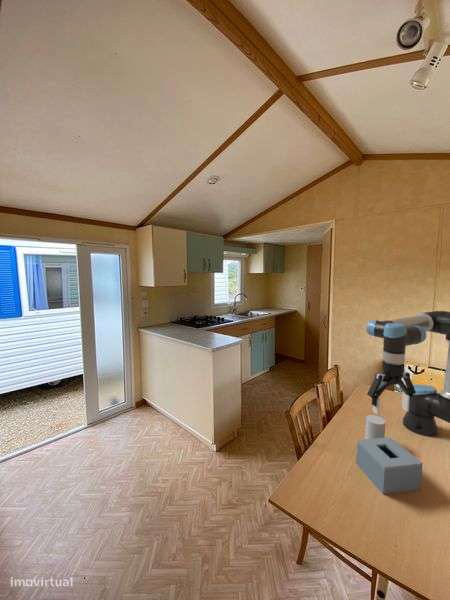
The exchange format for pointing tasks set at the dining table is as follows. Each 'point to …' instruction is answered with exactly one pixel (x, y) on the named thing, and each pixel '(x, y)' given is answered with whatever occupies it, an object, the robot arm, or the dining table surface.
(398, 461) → the coin box
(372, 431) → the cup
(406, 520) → the dining table surface
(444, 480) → the dining table surface
